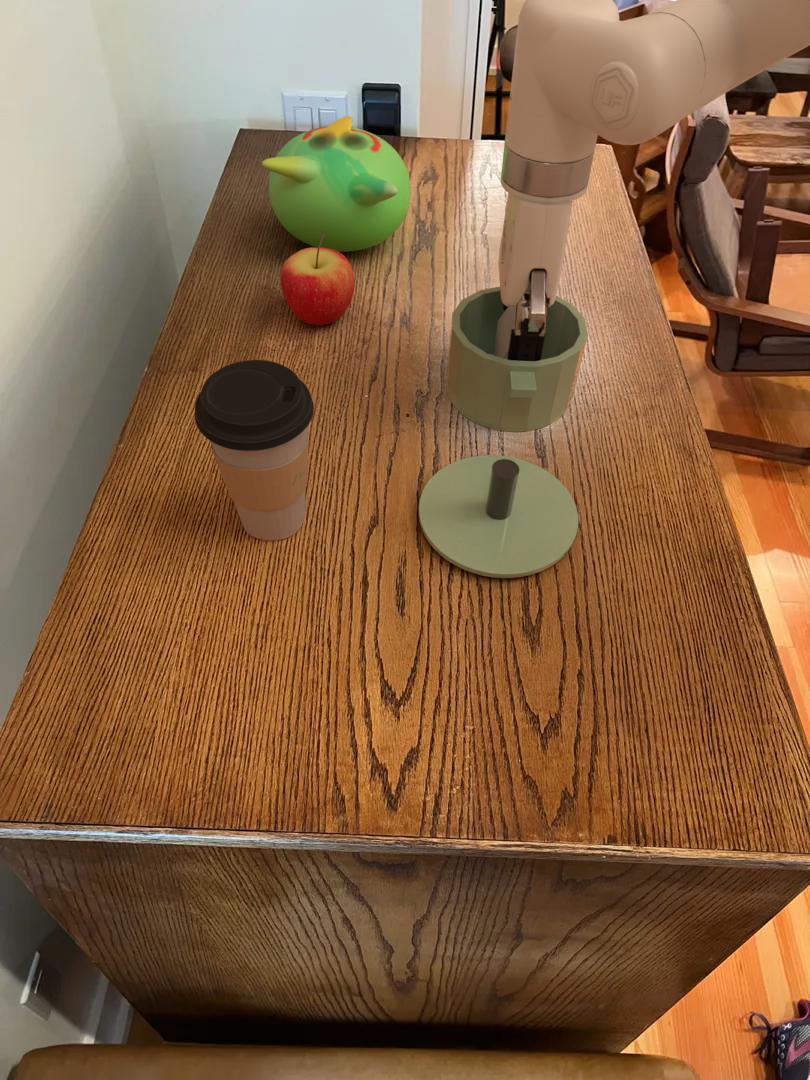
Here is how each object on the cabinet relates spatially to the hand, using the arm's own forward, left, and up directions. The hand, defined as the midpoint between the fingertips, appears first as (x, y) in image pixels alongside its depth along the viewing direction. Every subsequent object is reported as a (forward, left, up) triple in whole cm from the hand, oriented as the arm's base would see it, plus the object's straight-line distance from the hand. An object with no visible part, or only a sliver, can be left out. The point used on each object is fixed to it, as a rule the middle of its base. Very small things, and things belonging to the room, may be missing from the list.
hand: (520, 336), depth 79 cm
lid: (+2, +19, -6) cm, 20 cm away
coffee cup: (+23, +20, -7) cm, 32 cm away
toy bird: (+21, -29, -7) cm, 37 cm away
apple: (+22, -12, -7) cm, 26 cm away
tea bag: (0, 0, -7) cm, 7 cm away
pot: (0, 0, -7) cm, 7 cm away
